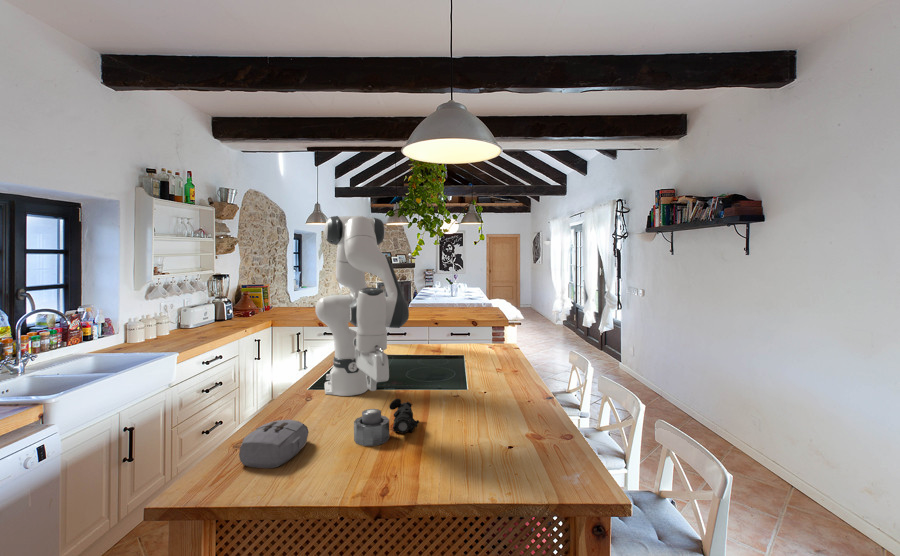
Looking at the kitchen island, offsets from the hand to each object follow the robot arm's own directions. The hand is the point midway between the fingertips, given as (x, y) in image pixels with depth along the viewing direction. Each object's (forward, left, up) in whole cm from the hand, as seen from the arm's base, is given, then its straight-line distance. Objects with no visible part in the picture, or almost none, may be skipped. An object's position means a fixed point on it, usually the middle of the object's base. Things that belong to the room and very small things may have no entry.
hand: (371, 389), depth 131 cm
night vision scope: (-3, +11, -15) cm, 19 cm away
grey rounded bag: (-3, -26, -15) cm, 30 cm away
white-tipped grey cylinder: (0, 0, -11) cm, 11 cm away
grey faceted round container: (0, 0, -15) cm, 15 cm away
